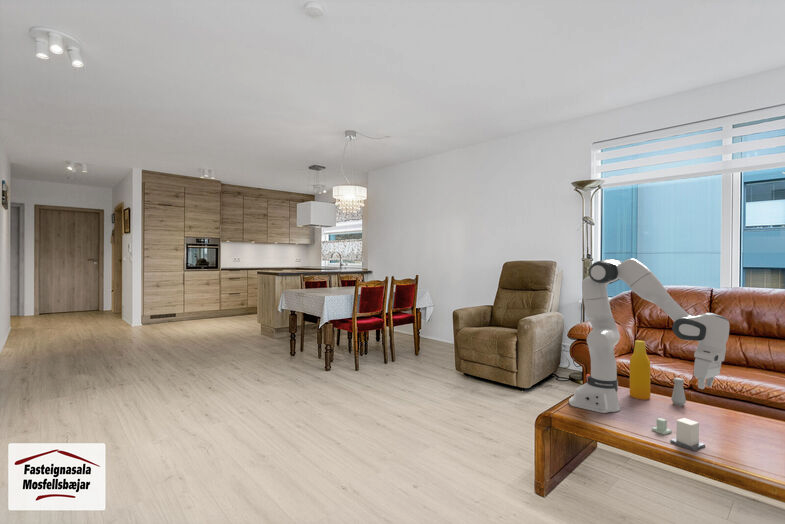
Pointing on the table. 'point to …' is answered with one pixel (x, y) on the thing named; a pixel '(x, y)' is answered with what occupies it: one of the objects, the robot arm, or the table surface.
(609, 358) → the robot arm
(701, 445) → the post
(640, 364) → the beer bottle
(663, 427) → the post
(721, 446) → the table surface
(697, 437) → the white rectangular block
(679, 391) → the salt shaker
